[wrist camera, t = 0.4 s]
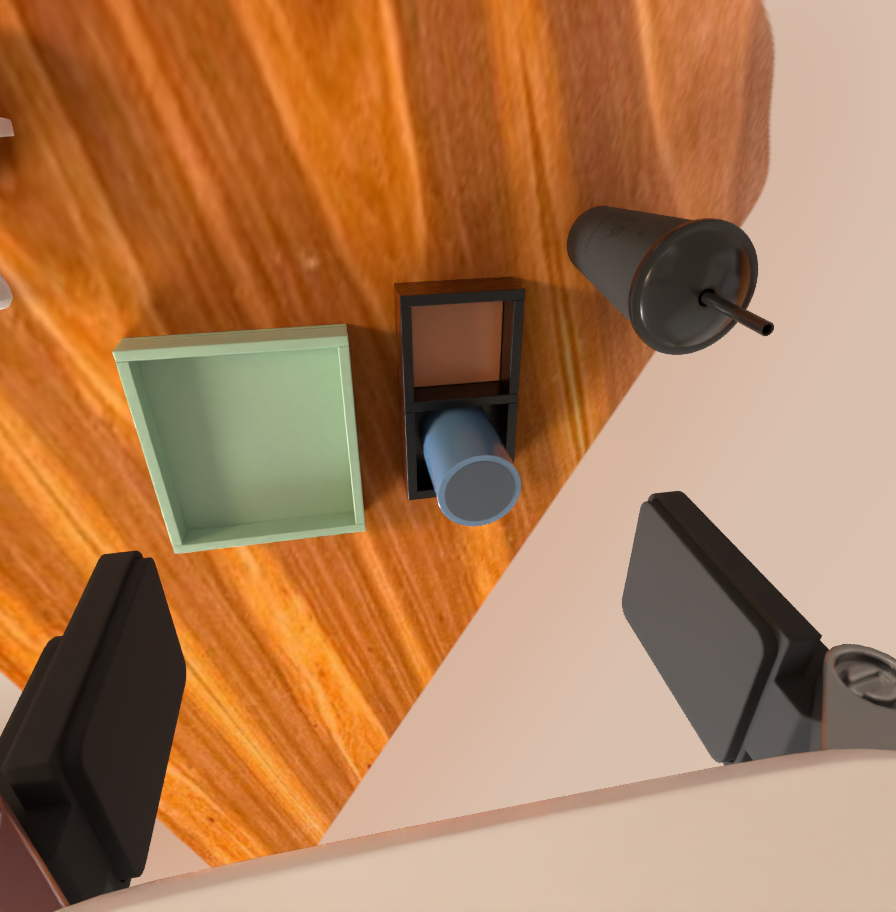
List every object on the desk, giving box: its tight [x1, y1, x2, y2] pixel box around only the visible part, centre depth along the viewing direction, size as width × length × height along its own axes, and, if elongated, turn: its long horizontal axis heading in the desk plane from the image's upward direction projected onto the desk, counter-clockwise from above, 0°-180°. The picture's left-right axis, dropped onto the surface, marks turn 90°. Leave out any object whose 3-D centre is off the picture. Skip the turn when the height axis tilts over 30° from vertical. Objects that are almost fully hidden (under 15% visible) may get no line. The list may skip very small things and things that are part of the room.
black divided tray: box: [394, 277, 525, 500], centre depth 48 cm, size 17×9×3 cm, turn 0°
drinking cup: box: [567, 206, 774, 355], centre depth 37 cm, size 8×8×20 cm
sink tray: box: [113, 324, 366, 554], centre depth 47 cm, size 18×16×3 cm
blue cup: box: [419, 406, 521, 526], centre depth 47 cm, size 6×6×9 cm
